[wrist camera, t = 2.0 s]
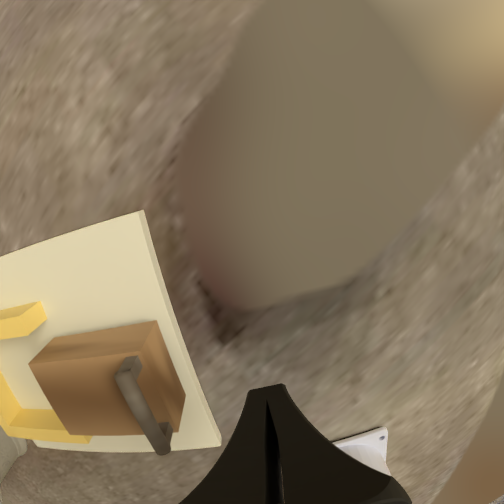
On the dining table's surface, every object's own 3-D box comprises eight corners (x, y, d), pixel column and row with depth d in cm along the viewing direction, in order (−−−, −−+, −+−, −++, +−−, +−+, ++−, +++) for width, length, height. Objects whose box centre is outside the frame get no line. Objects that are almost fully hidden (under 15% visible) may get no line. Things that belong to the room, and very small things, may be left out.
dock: (221, 436, 20) (219, 471, 17) (42, 440, 20) (27, 464, 17) (143, 209, 16) (121, 217, 13) (-41, 273, 16) (-69, 286, 13)
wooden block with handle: (187, 388, 18) (173, 457, 12) (91, 397, 18) (59, 454, 12) (159, 314, 17) (128, 373, 11) (59, 332, 17) (11, 381, 11)
